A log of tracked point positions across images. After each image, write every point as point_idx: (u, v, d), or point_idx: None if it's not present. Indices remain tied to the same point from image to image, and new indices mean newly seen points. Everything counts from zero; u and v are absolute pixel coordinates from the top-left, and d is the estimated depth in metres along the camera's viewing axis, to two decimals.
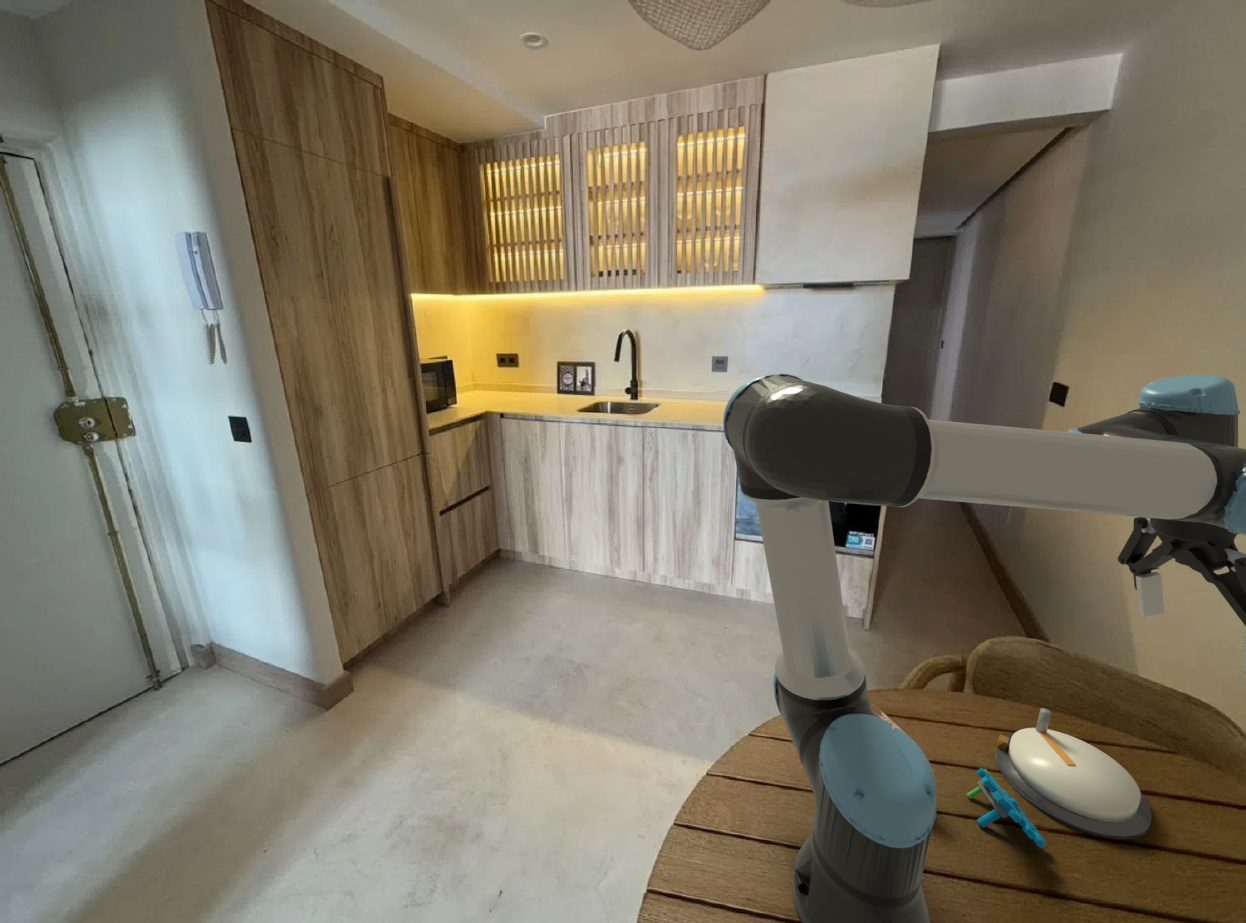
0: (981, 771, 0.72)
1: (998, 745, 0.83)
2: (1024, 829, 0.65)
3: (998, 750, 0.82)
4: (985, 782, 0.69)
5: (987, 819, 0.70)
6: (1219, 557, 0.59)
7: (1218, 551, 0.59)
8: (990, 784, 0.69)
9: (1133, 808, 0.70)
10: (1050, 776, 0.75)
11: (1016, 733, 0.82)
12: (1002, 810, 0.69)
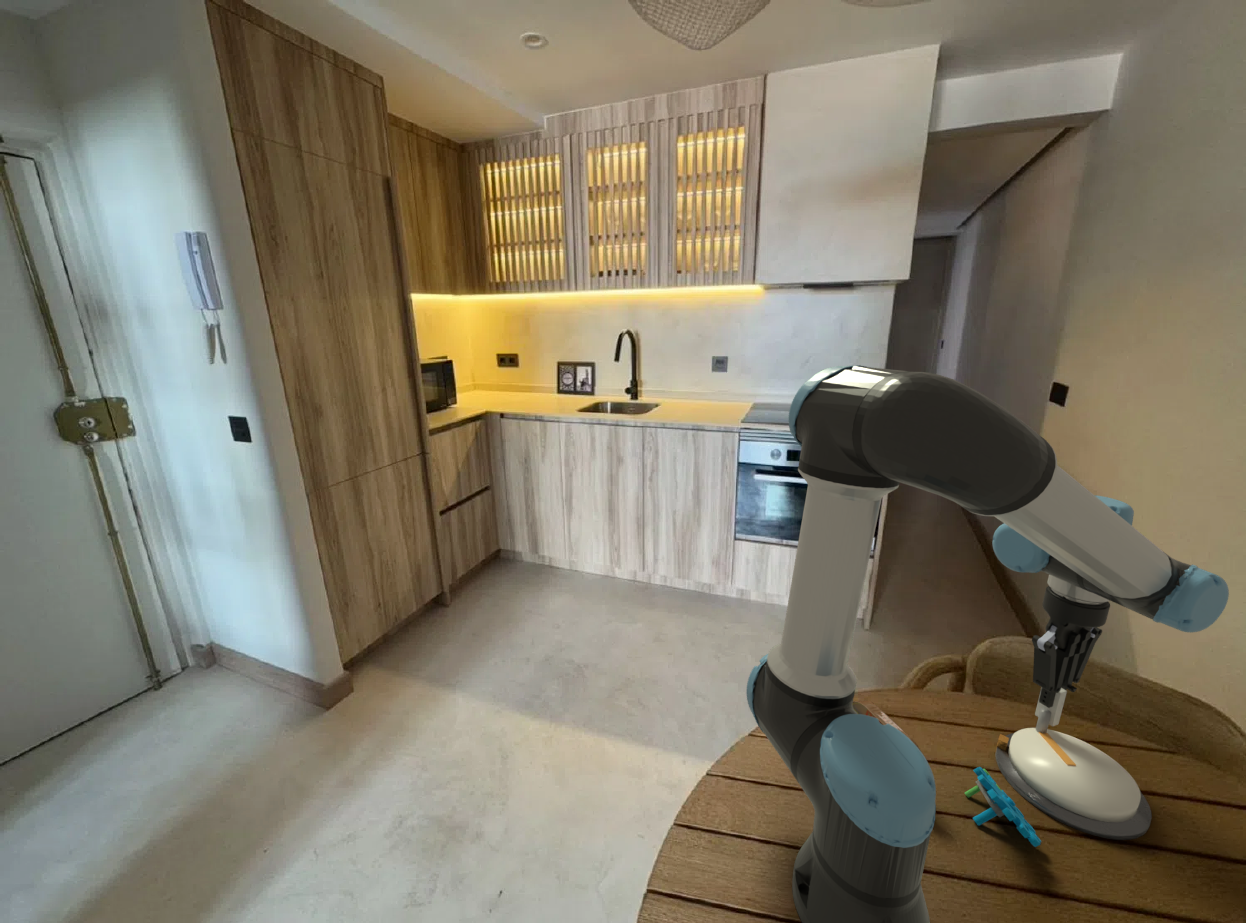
0: (978, 769, 0.72)
1: (998, 745, 0.83)
2: (1018, 827, 0.66)
3: (998, 750, 0.82)
4: (981, 780, 0.70)
5: (983, 817, 0.70)
6: None
7: (1046, 626, 0.78)
8: (986, 782, 0.70)
9: (1133, 808, 0.70)
10: (1050, 776, 0.75)
11: (1016, 733, 0.82)
12: (998, 809, 0.70)
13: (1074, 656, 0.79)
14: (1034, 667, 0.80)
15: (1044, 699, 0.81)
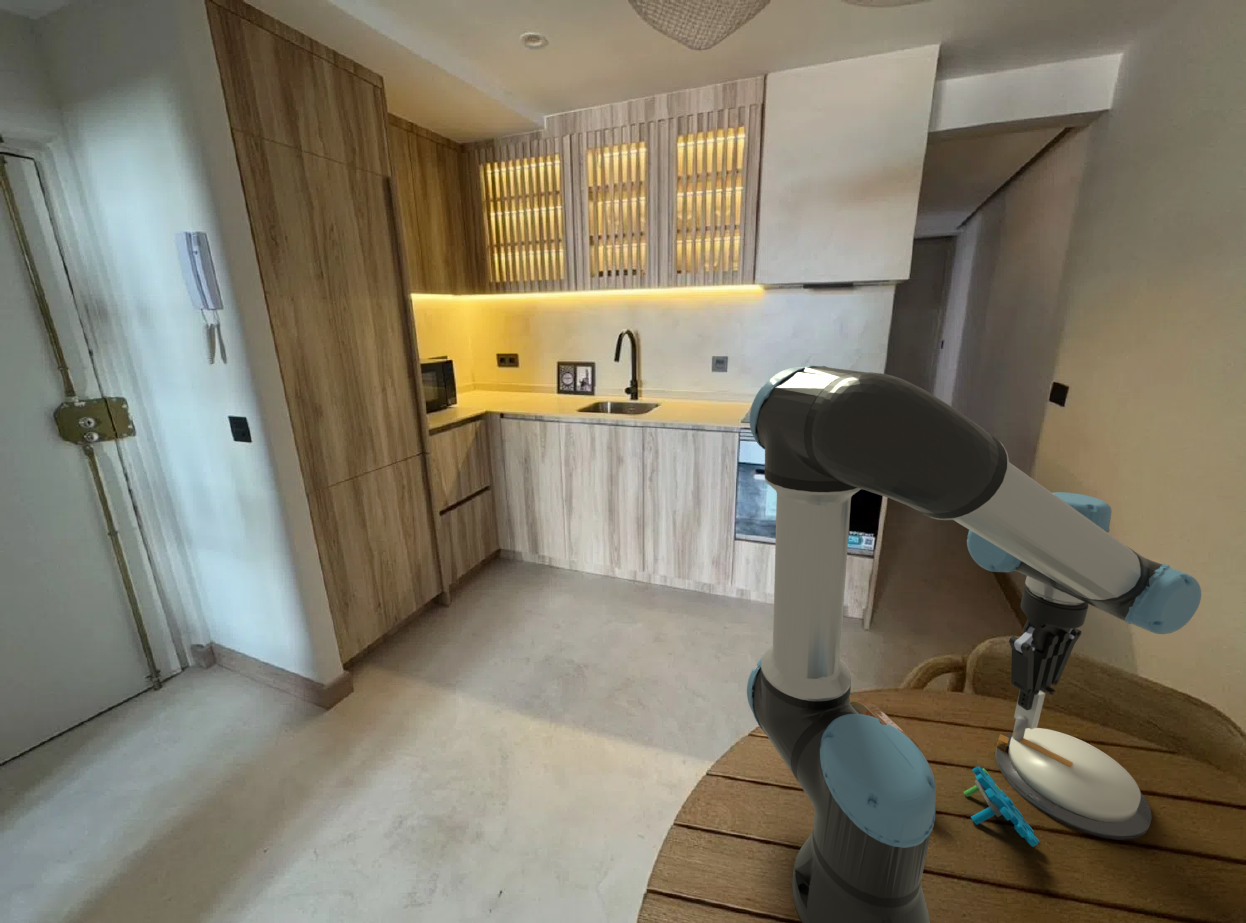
0: (977, 769, 0.72)
1: (998, 745, 0.83)
2: (1015, 827, 0.66)
3: (998, 750, 0.82)
4: (979, 779, 0.70)
5: (981, 816, 0.71)
6: None
7: (1023, 628, 0.77)
8: (984, 781, 0.70)
9: (1135, 783, 0.73)
10: (1085, 793, 0.72)
11: (1016, 755, 0.78)
12: (996, 808, 0.70)
13: (1053, 657, 0.77)
14: (1012, 669, 0.78)
15: (1023, 701, 0.80)
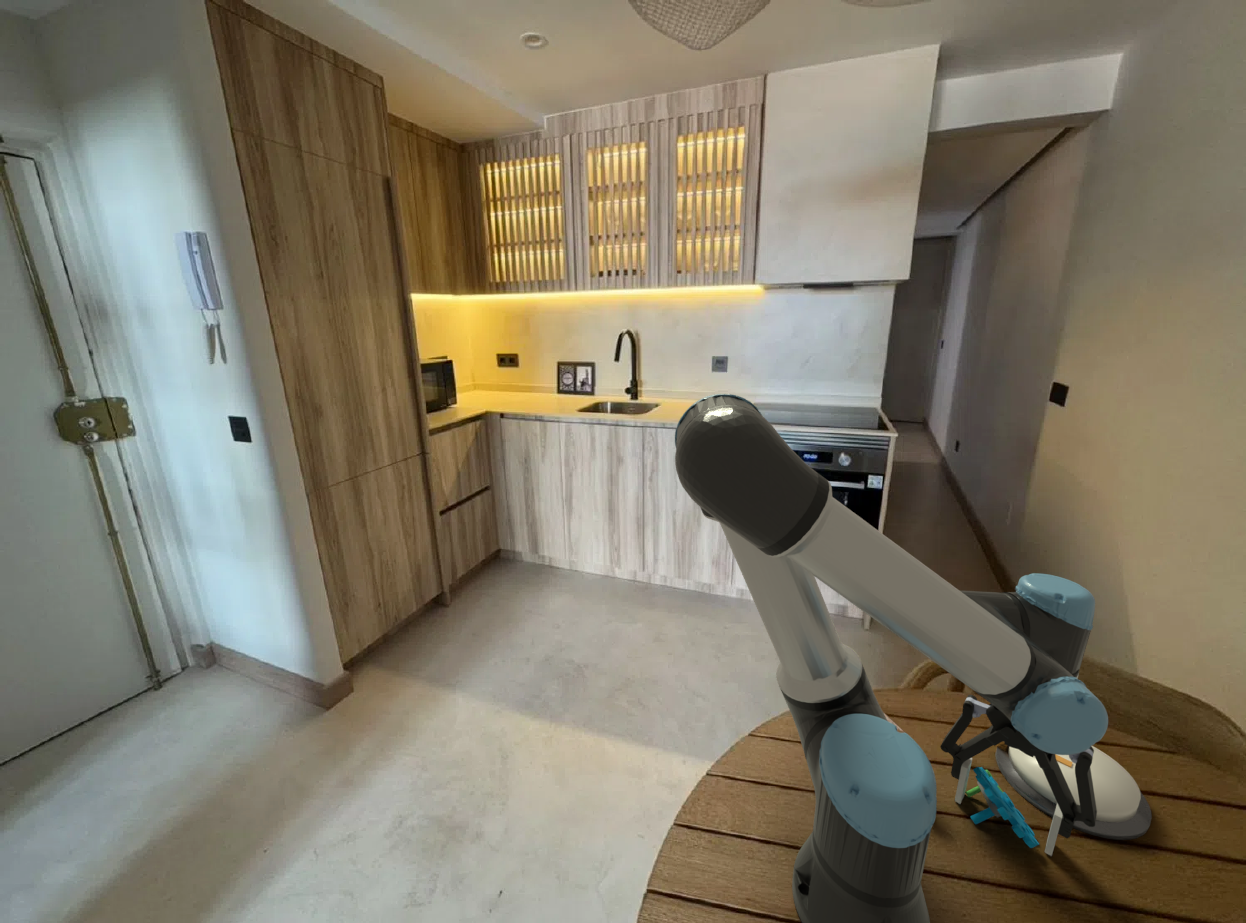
0: (977, 769, 0.72)
1: (998, 745, 0.83)
2: (1013, 827, 0.66)
3: (998, 750, 0.82)
4: (978, 779, 0.70)
5: (980, 816, 0.70)
6: None
7: None
8: (983, 781, 0.70)
9: (1134, 781, 0.74)
10: None
11: (1017, 757, 0.78)
12: (996, 808, 0.70)
13: (1043, 771, 0.65)
14: None
15: None
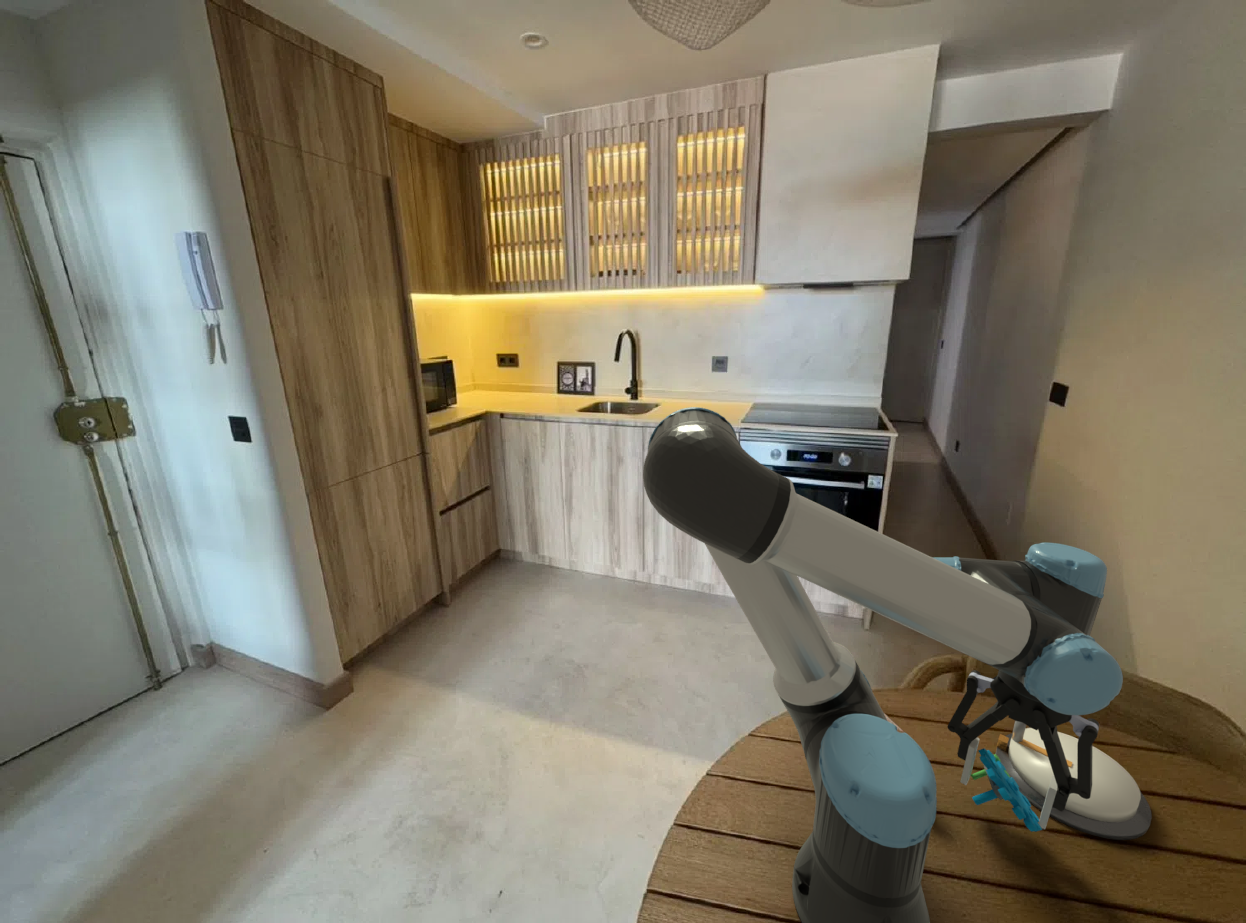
0: (983, 750, 0.70)
1: (998, 745, 0.83)
2: (1013, 808, 0.64)
3: (998, 750, 0.82)
4: (982, 759, 0.69)
5: (982, 797, 0.69)
6: None
7: None
8: (987, 762, 0.68)
9: (1134, 781, 0.74)
10: None
11: (1017, 757, 0.78)
12: (999, 791, 0.68)
13: (1044, 743, 0.64)
14: None
15: None
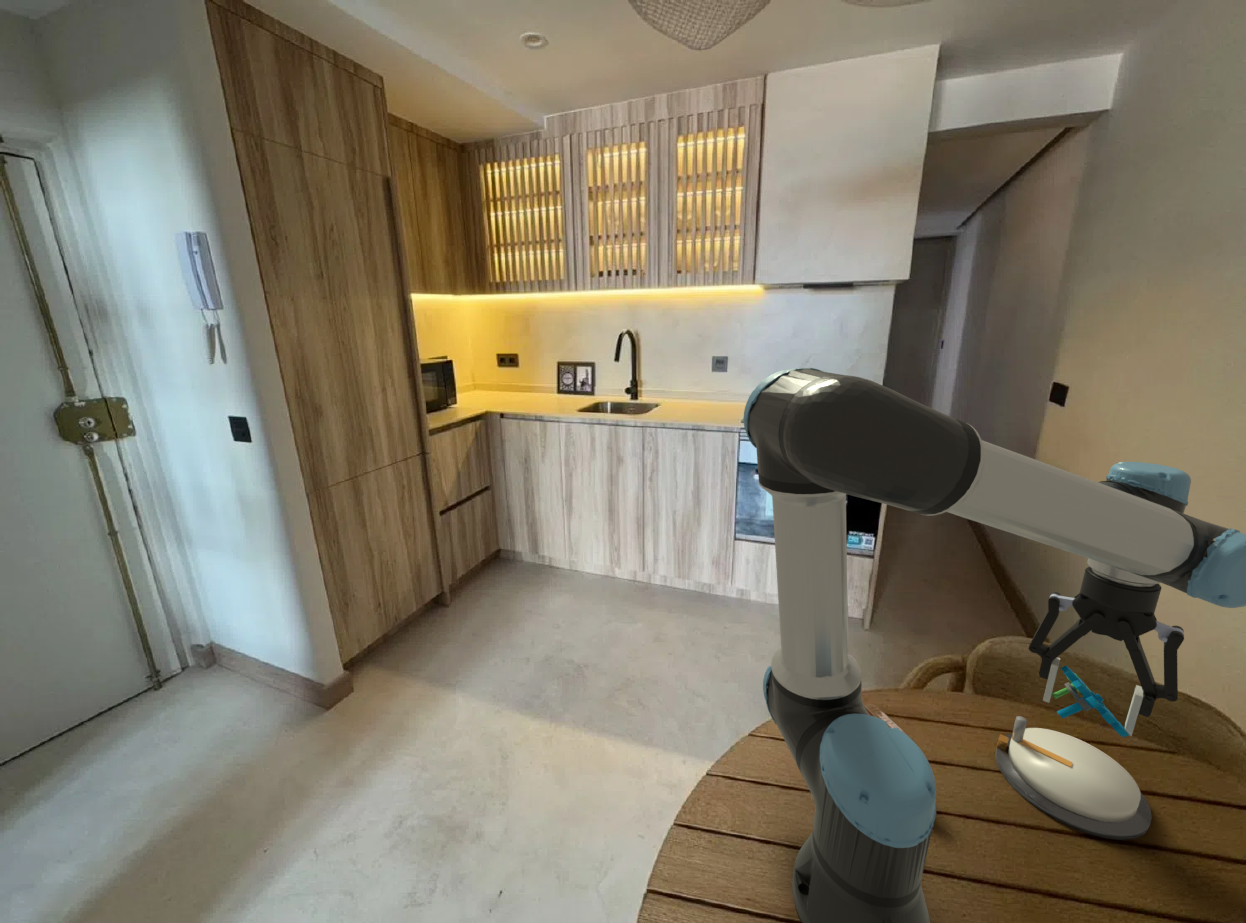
0: (1065, 667, 0.74)
1: (998, 745, 0.83)
2: (1102, 714, 0.68)
3: (998, 750, 0.82)
4: (1066, 673, 0.72)
5: (1067, 710, 0.73)
6: None
7: None
8: (1072, 675, 0.72)
9: (1134, 781, 0.74)
10: (1088, 793, 0.72)
11: (1017, 757, 0.78)
12: (1084, 702, 0.72)
13: (1129, 653, 0.68)
14: (1039, 626, 0.77)
15: None
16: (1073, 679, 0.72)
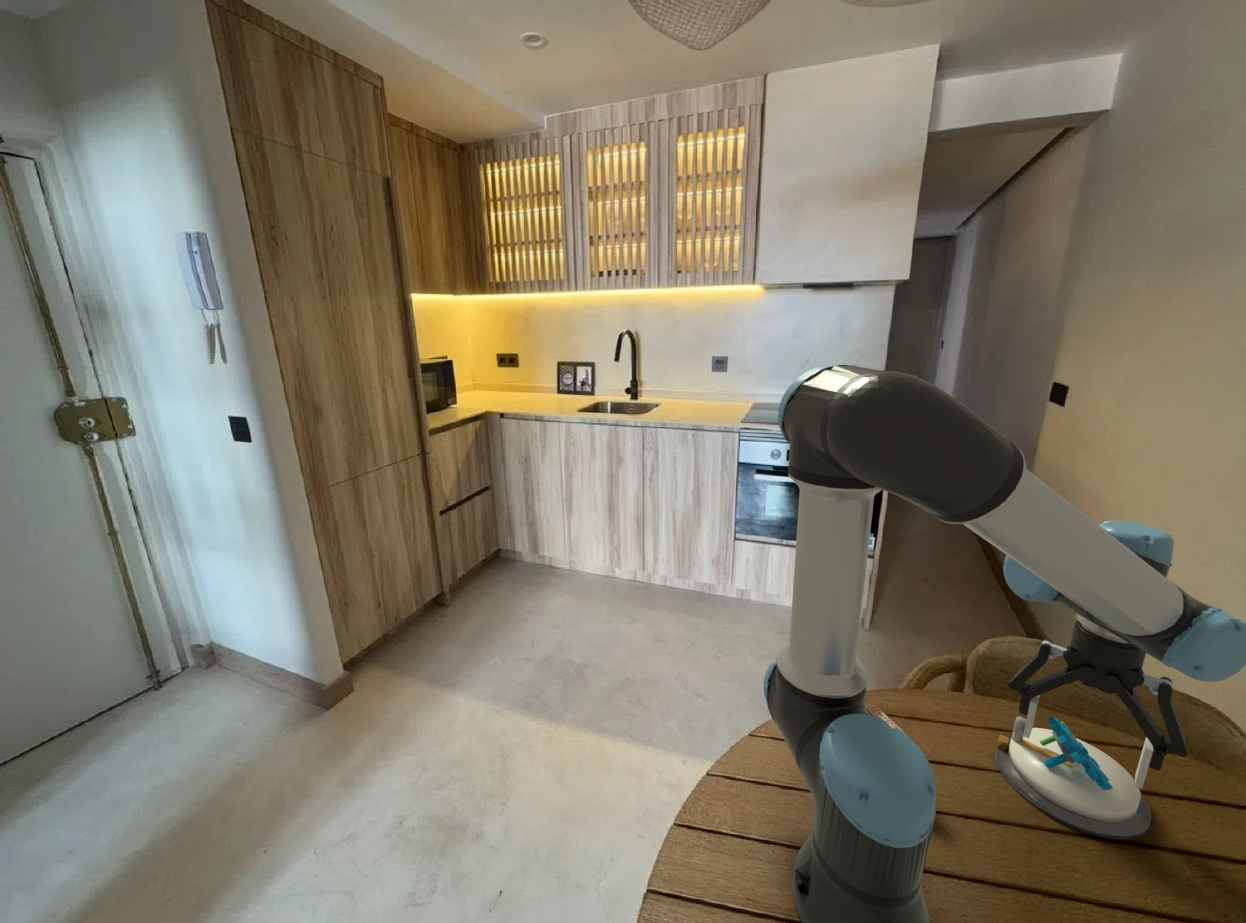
0: (1052, 719, 0.76)
1: (998, 745, 0.83)
2: (1086, 770, 0.70)
3: (998, 750, 0.82)
4: (1052, 727, 0.74)
5: (1054, 761, 0.75)
6: None
7: None
8: (1057, 729, 0.74)
9: (1133, 781, 0.74)
10: (1088, 793, 0.72)
11: (1017, 758, 0.78)
12: (1069, 755, 0.74)
13: (1127, 707, 0.69)
14: (1023, 666, 0.79)
15: None
16: (1059, 733, 0.74)
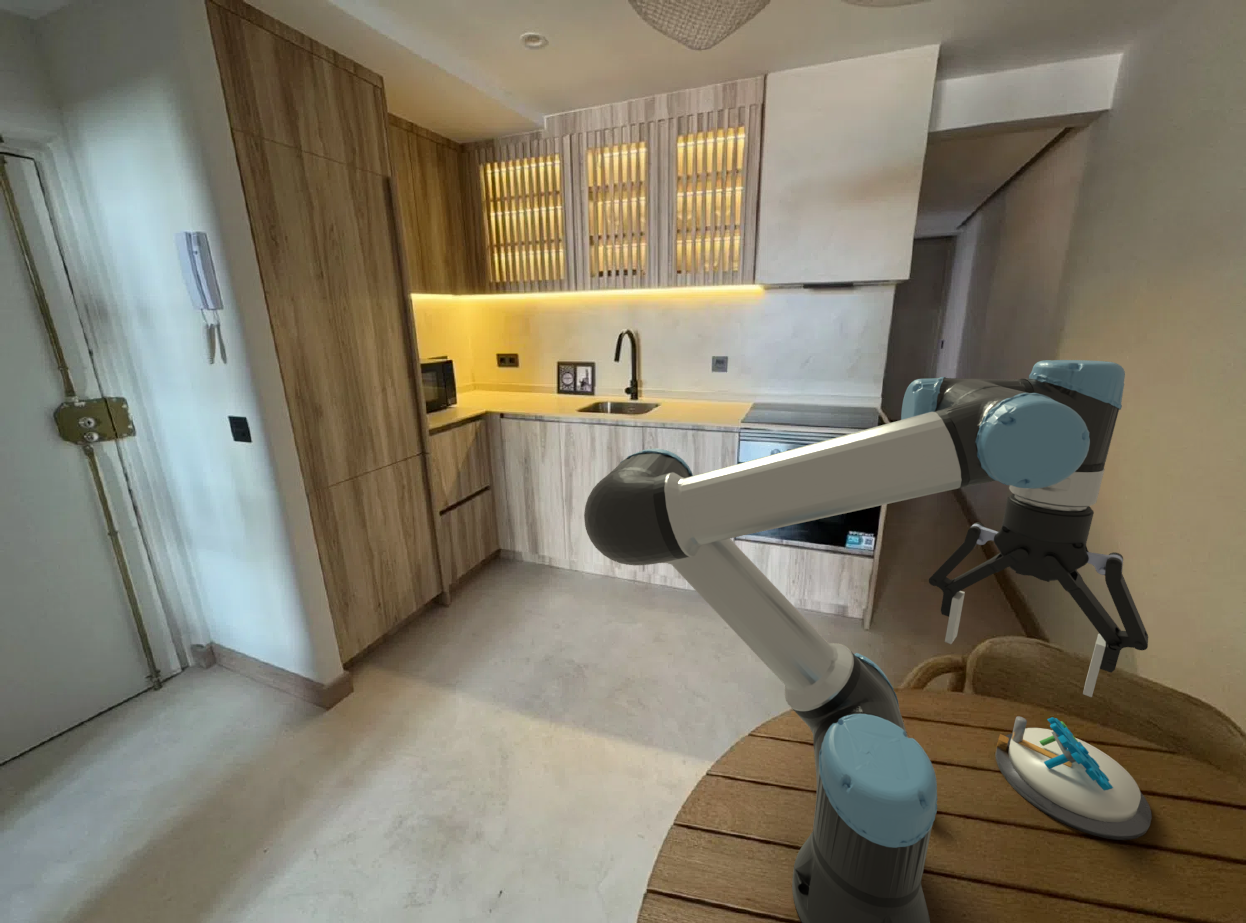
0: (1052, 719, 0.76)
1: (998, 745, 0.83)
2: (1086, 770, 0.70)
3: (998, 750, 0.82)
4: (1053, 727, 0.74)
5: (1054, 761, 0.75)
6: None
7: None
8: (1058, 729, 0.74)
9: (1133, 780, 0.74)
10: (1088, 793, 0.72)
11: (1018, 758, 0.78)
12: (1070, 755, 0.74)
13: (1071, 595, 0.55)
14: (948, 558, 0.65)
15: None
16: (1059, 733, 0.74)
